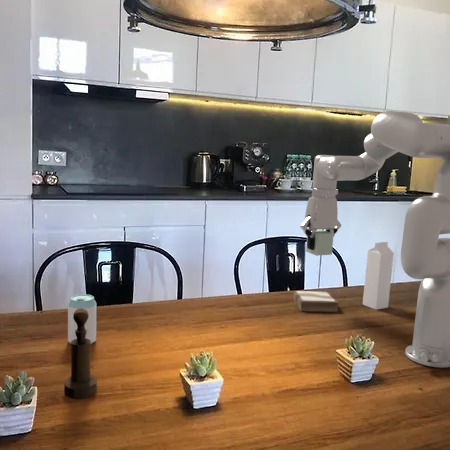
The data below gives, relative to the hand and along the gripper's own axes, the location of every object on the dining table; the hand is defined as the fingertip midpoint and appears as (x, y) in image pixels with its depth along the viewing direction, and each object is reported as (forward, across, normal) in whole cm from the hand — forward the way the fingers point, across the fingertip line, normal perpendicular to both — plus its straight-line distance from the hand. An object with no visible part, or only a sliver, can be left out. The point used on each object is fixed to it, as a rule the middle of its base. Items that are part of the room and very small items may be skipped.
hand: (319, 248), depth 174 cm
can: (+20, +77, +7) cm, 80 cm away
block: (+2, 0, 0) cm, 2 cm away
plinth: (+19, 0, 0) cm, 19 cm away
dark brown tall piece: (+20, +82, +34) cm, 91 cm away
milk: (+20, -20, +7) cm, 29 cm away
